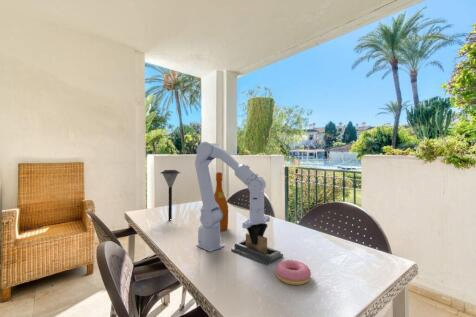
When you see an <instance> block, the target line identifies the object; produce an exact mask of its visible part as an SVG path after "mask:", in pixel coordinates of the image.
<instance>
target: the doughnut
mask: <svg viewBox="0 0 476 317" xmlns="http://www.w3.org/2000/svg"><path fill="white" fill-rule="evenodd" d="M275 273H276V276H277V278H278V279H279V280H280V281H282V282H283V283H285V284H288V285H293V286H300V285H304V284H306V283H308V282H309V281H310V279H311V276H312V272H311V269H310V267H309V266H308V265H307V264H305V263H303V262H301V261H298V260H293V259H288V260H287V259H286V260H281V261H279V262H278V264H276V267H275Z"/></svg>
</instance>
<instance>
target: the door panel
mask: <svg viewBox="0 0 476 317" xmlns="http://www.w3.org/2000/svg"><path fill="white" fill-rule="evenodd" d="M245 240H246V246H247V247H250V248H252V249H255V250H258V251H261V252H263V253H266V254H267V247H268V237H266V236H264V235H263V236H260V235H258V240H257V245H255V244H252V242H251V238H250V235H249V232H247V233H245Z"/></svg>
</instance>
